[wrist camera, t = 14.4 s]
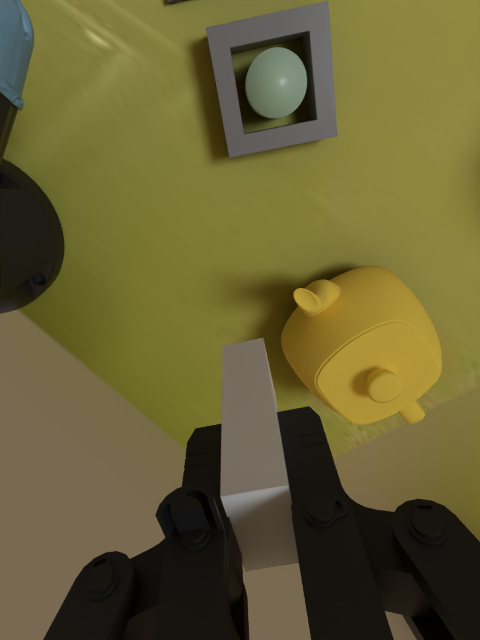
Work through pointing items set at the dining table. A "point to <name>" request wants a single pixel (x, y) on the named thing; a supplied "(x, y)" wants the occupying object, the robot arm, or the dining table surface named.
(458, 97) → the dining table surface
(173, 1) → the picture sheet
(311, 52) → the button housing
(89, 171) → the dining table surface
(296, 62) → the button
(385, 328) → the teapot
